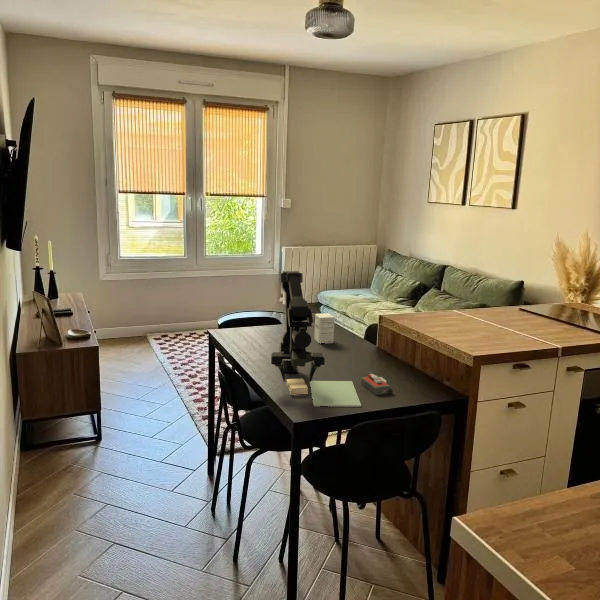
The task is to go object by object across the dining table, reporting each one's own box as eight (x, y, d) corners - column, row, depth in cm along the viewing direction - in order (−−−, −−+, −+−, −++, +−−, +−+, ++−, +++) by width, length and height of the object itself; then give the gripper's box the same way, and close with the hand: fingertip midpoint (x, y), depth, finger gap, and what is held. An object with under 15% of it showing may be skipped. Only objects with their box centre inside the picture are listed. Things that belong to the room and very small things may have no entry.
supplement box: (313, 339, 254) (314, 313, 251) (328, 338, 256) (329, 313, 253) (318, 344, 247) (319, 317, 244) (333, 343, 249) (334, 316, 246)
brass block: (286, 386, 196) (286, 379, 195) (302, 386, 197) (302, 378, 196) (290, 396, 187) (291, 388, 187) (307, 395, 189) (307, 387, 188)
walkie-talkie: (397, 394, 192) (371, 375, 210) (398, 382, 191) (372, 364, 209) (376, 397, 189) (351, 377, 207) (376, 385, 188) (351, 366, 206)
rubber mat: (309, 382, 200) (309, 380, 200) (352, 382, 201) (352, 381, 201) (313, 406, 179) (313, 405, 179) (361, 406, 180) (361, 405, 179)
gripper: (271, 346, 180) (270, 389, 183) (326, 346, 181) (325, 390, 184) (271, 336, 191) (271, 378, 194) (323, 337, 192) (322, 378, 195)
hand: (297, 381), depth 192 cm, fingers open, 9 cm apart
